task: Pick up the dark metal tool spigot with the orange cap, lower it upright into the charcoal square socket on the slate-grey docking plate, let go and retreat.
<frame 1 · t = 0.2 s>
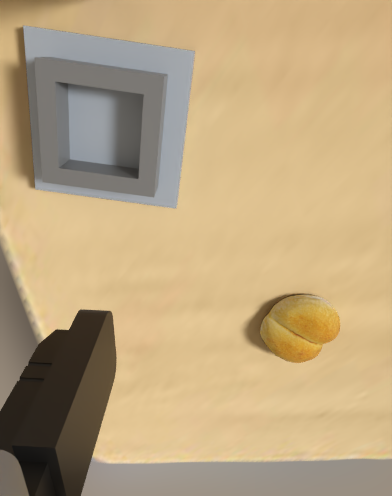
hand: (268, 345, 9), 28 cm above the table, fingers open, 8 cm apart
bread roll: (296, 321, 45), on the table
socket: (110, 124, 35), on the table
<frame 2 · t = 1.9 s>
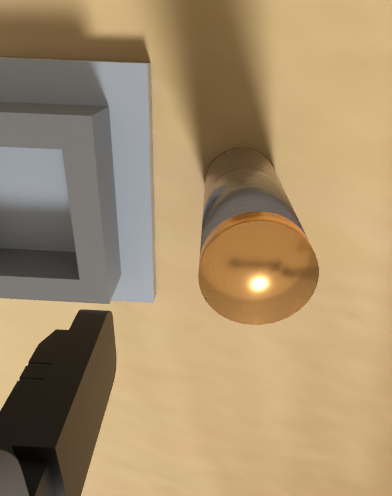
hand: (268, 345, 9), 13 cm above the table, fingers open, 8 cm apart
tool spigot: (240, 183, 21), on the table
socket: (35, 190, 22), on the table
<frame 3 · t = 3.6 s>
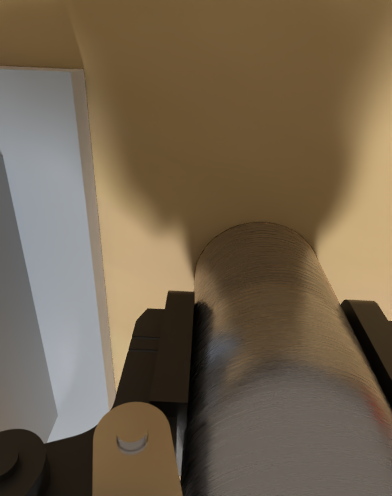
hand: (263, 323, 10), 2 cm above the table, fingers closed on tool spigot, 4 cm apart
tool spigot: (256, 278, 12), on the table, touching gripper
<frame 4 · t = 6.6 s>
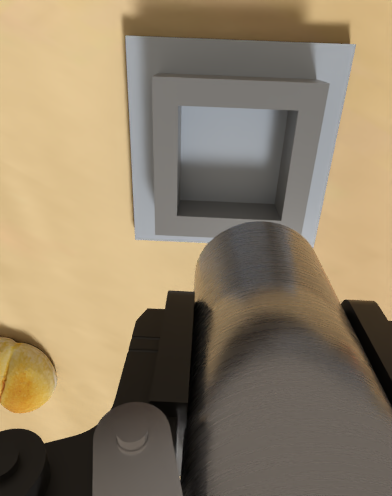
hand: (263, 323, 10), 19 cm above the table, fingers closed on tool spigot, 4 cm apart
bread roll: (15, 363, 39), on the table
tool spigot: (256, 277, 12), point 17 cm above the table, touching gripper
socket: (230, 151, 27), on the table
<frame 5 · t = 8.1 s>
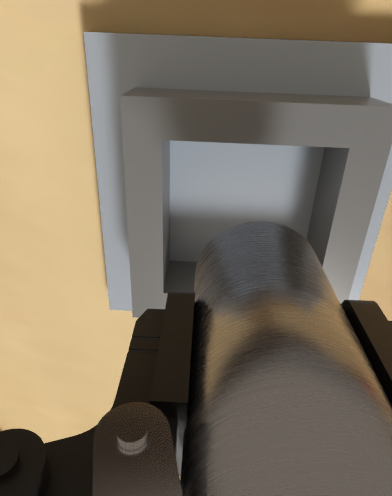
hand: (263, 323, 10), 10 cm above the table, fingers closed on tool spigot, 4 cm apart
tool spigot: (256, 277, 12), point 8 cm above the table, touching gripper
socket: (239, 195, 19), on the table
when the fingers open (5 cm above the table, at t = 9.5 s): tool spigot drops 1 cm, resting on socket.
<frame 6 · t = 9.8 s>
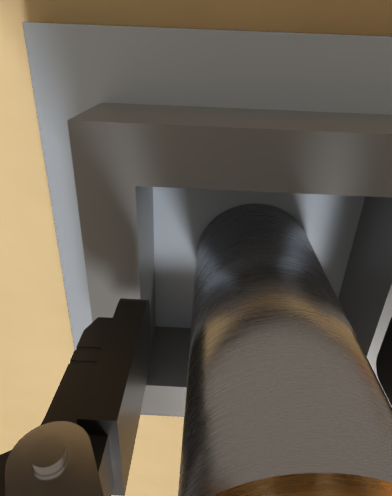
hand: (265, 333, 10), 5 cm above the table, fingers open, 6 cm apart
tool spigot: (252, 255, 13), point 1 cm above the table, touching socket
socket: (248, 242, 14), on the table
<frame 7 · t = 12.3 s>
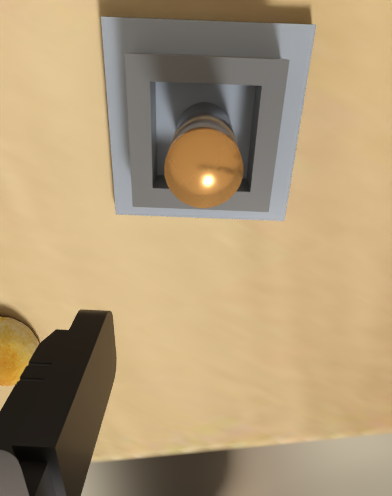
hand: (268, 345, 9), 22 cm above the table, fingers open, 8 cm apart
bread roll: (1, 339, 40), on the table
tool spigot: (204, 130, 28), point 1 cm above the table, touching socket
socket: (203, 128, 29), on the table
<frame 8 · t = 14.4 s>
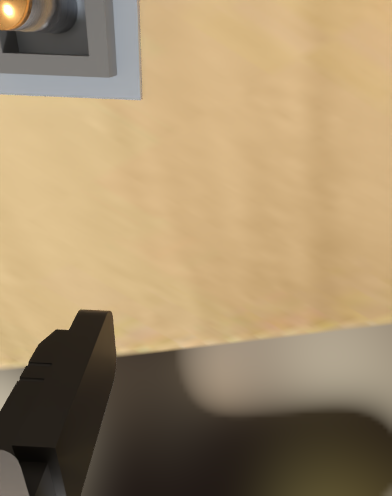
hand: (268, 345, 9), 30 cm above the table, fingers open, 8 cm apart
tool spigot: (53, 6, 31), point 1 cm above the table, touching socket
socket: (57, 7, 32), on the table
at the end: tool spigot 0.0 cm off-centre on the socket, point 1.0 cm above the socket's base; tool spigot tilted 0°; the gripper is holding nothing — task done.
